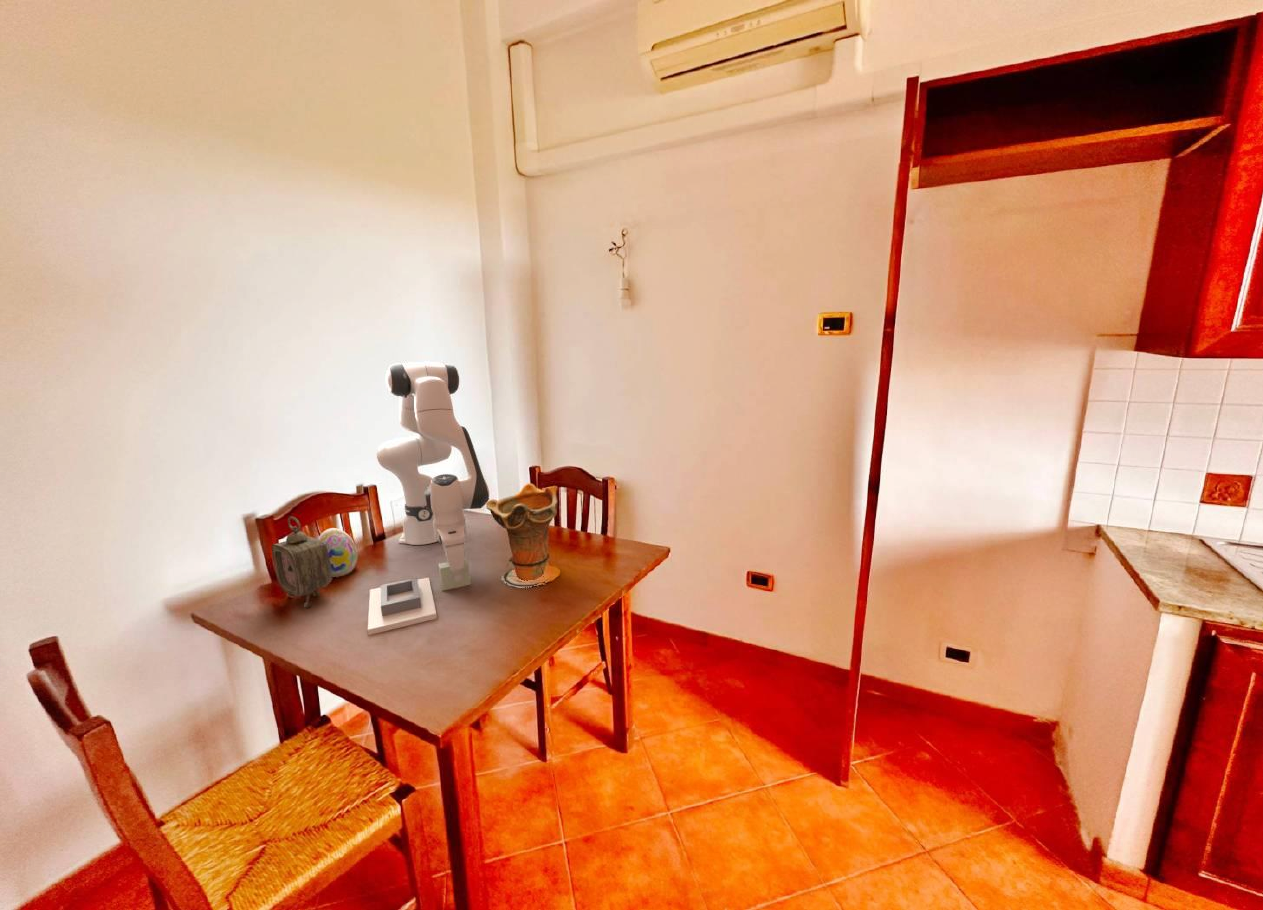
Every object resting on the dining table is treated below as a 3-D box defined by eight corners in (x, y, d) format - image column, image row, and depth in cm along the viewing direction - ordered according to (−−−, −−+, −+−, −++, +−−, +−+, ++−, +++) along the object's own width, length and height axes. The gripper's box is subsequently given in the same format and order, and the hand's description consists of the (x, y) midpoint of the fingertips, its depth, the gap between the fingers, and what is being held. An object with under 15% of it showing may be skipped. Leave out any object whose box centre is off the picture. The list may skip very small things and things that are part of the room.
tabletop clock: (280, 599, 144) (264, 517, 139) (314, 586, 152) (299, 508, 146) (304, 612, 136) (288, 526, 131) (338, 598, 144) (324, 516, 138)
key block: (441, 585, 150) (438, 563, 148) (468, 579, 153) (466, 558, 152) (442, 590, 146) (439, 568, 145) (470, 584, 150) (468, 562, 148)
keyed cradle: (370, 594, 145) (368, 580, 144) (429, 581, 152) (427, 568, 151) (368, 635, 124) (365, 618, 123) (436, 618, 131) (434, 602, 130)
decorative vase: (478, 588, 146) (473, 495, 141) (518, 560, 168) (514, 479, 163) (543, 597, 140) (538, 500, 135) (575, 566, 161) (573, 482, 157)
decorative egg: (317, 585, 152) (309, 539, 149) (314, 571, 162) (306, 528, 159) (362, 573, 159) (355, 529, 156) (356, 561, 169) (350, 519, 166)
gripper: (435, 521, 154) (440, 563, 157) (442, 543, 136) (448, 590, 139) (456, 518, 157) (461, 559, 159) (466, 538, 139) (471, 584, 141)
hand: (455, 573), depth 149 cm, fingers open, 8 cm apart
